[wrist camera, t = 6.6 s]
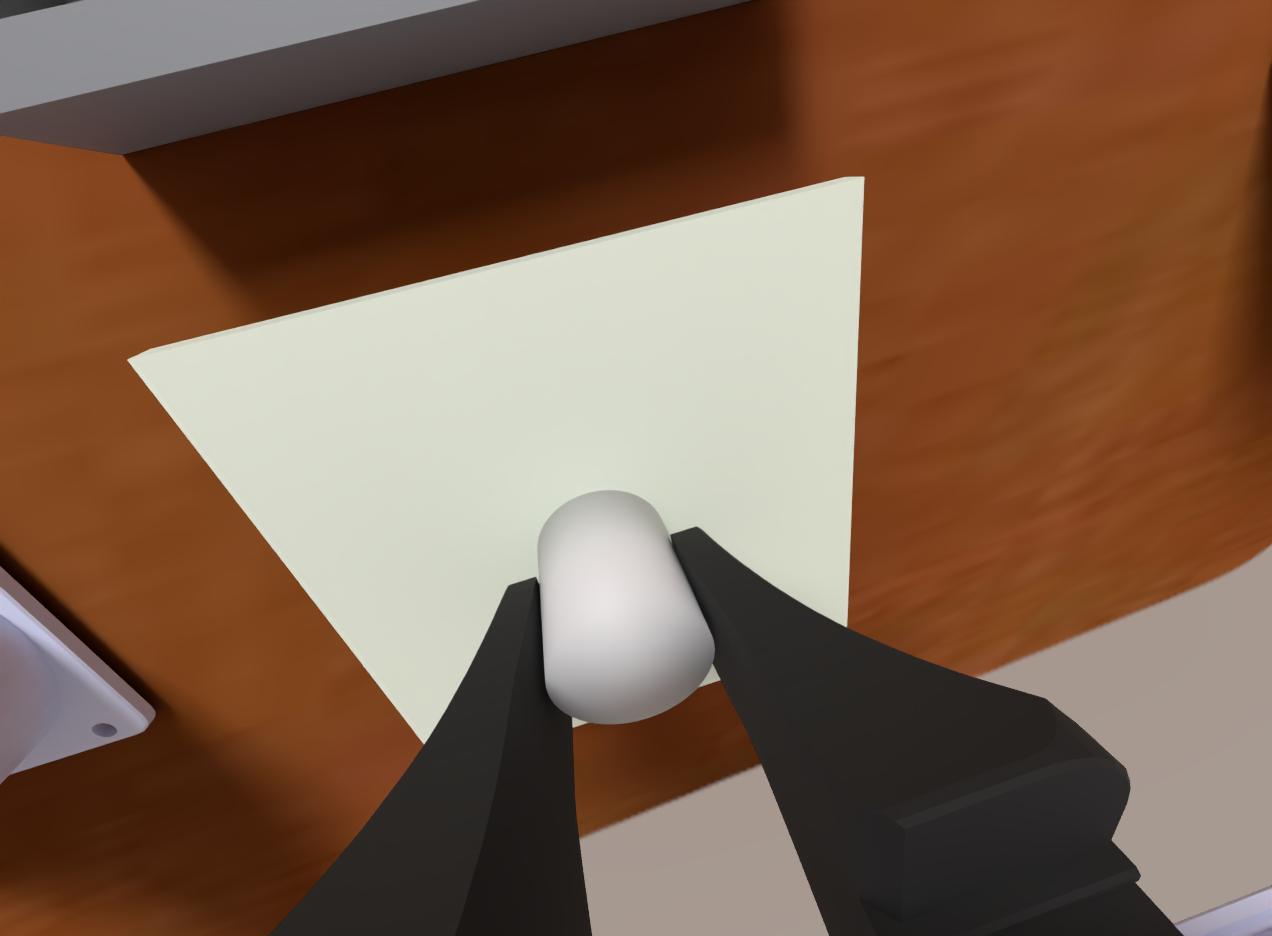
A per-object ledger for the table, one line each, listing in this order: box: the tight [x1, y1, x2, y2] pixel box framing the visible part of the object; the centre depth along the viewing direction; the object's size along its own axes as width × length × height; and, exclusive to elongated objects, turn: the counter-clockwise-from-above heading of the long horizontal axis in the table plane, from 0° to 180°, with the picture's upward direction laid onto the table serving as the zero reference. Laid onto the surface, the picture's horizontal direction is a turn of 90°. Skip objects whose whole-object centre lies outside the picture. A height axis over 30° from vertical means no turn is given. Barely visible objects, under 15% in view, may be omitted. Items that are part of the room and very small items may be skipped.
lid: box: [128, 177, 864, 744], centre depth 10 cm, size 13×13×4 cm
